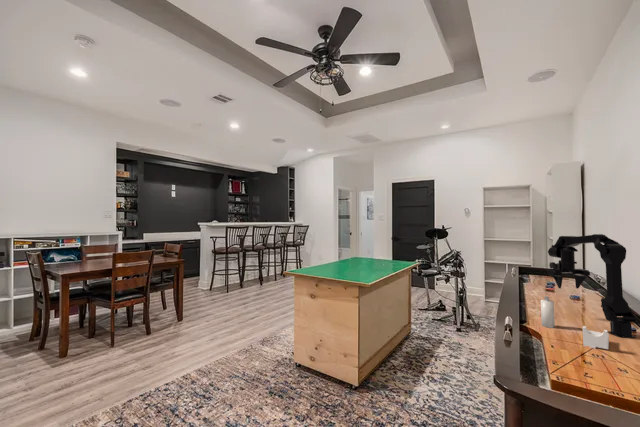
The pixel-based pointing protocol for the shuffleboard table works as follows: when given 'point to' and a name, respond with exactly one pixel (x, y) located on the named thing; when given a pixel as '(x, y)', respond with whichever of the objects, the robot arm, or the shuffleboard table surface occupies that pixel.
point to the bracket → (595, 338)
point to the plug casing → (547, 313)
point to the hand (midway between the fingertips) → (568, 288)
